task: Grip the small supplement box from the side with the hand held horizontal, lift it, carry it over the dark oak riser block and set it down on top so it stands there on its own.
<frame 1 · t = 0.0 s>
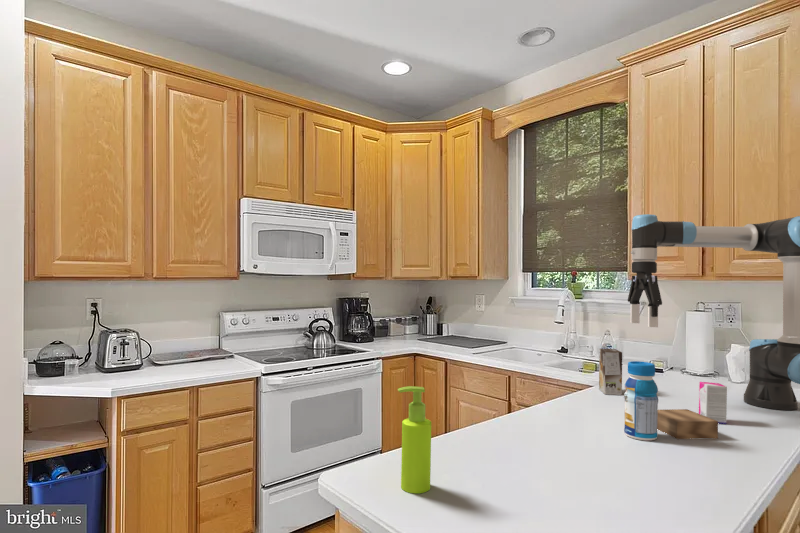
hand: (643, 325, 161), 28 cm above the counter, tool pointing down, fingers open, 13 cm apart
soap dispenser: (412, 488, 97), on the counter
beverage bottle: (640, 437, 132), on the counter
coffee box: (610, 392, 185), on the counter
supplement box: (712, 421, 148), on the counter
oak riser block: (682, 432, 137), on the counter
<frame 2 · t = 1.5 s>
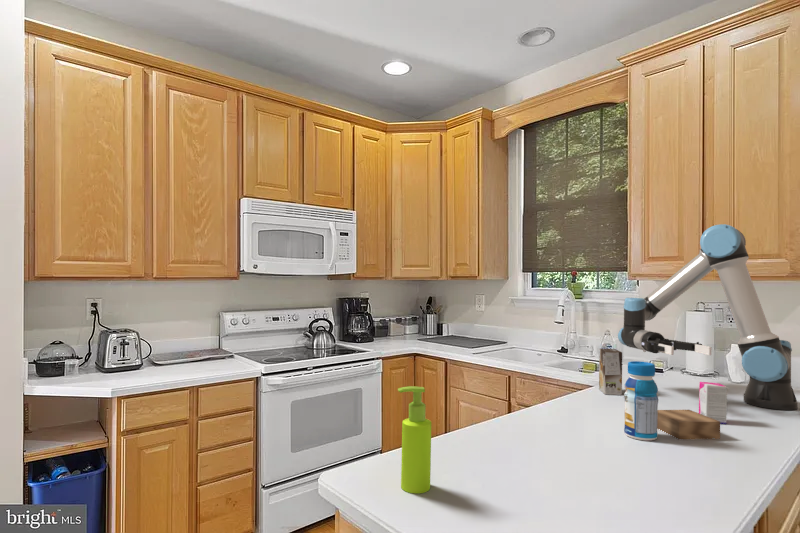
hand: (691, 351, 158), 20 cm above the counter, tool horizontal, fingers open, 13 cm apart
nothing on the counter moved.
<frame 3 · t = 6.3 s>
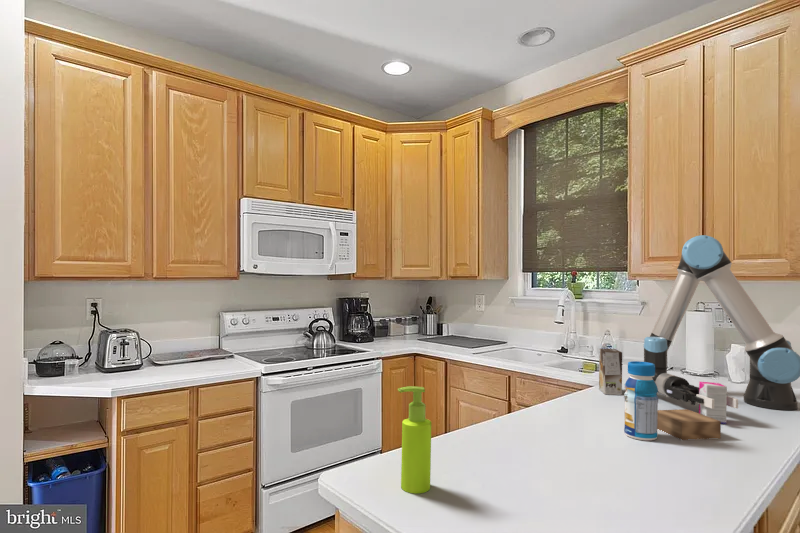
hand: (725, 403, 144), 7 cm above the counter, tool horizontal, fingers closed on supplement box, 7 cm apart
supplement box: (712, 421, 148), on the counter, touching gripper
everything else where it was.
when the fingers open (13 cm above the counter, at t = 11.2 s): supplement box drops 2 cm, resting on oak riser block.
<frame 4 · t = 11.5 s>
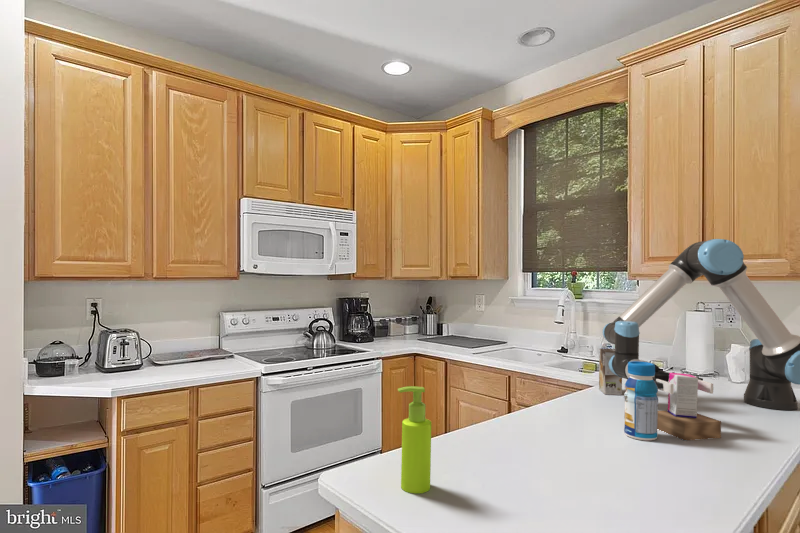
hand: (692, 388, 134), 13 cm above the counter, tool horizontal, fingers open, 11 cm apart
supplement box: (682, 415, 138), point 4 cm above the counter, touching oak riser block
oak riser block: (685, 433, 137), on the counter, touching supplement box
everything else where it was.
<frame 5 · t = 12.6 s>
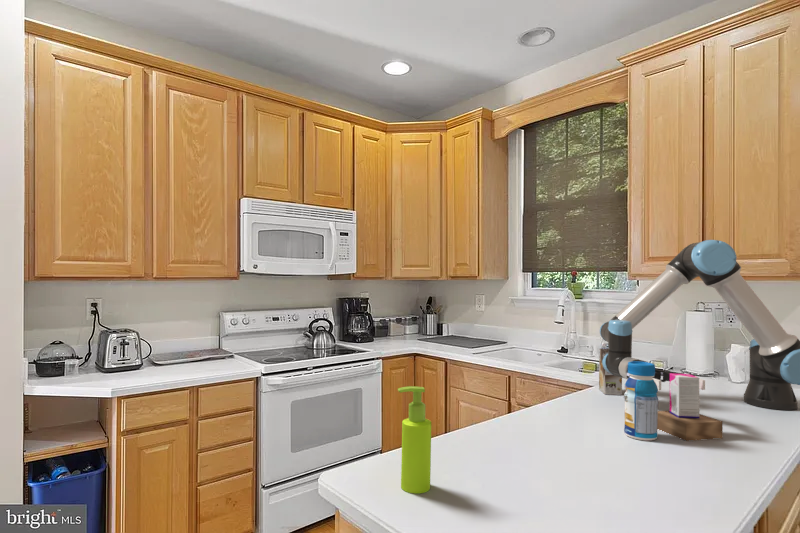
hand: (682, 385, 138), 13 cm above the counter, tool horizontal, fingers open, 13 cm apart
nothing on the counter moved.
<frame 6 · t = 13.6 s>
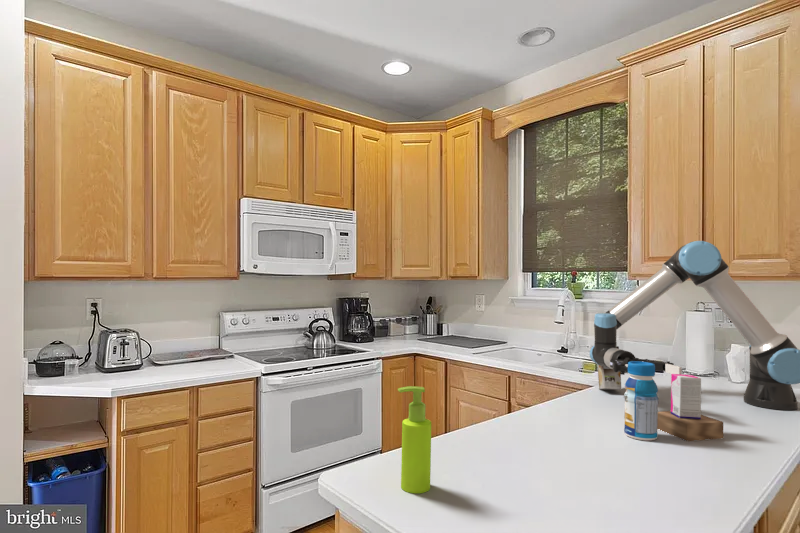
hand: (659, 372, 147), 15 cm above the counter, tool horizontal, fingers open, 13 cm apart
coffee box: (609, 389, 185), point 1 cm above the counter
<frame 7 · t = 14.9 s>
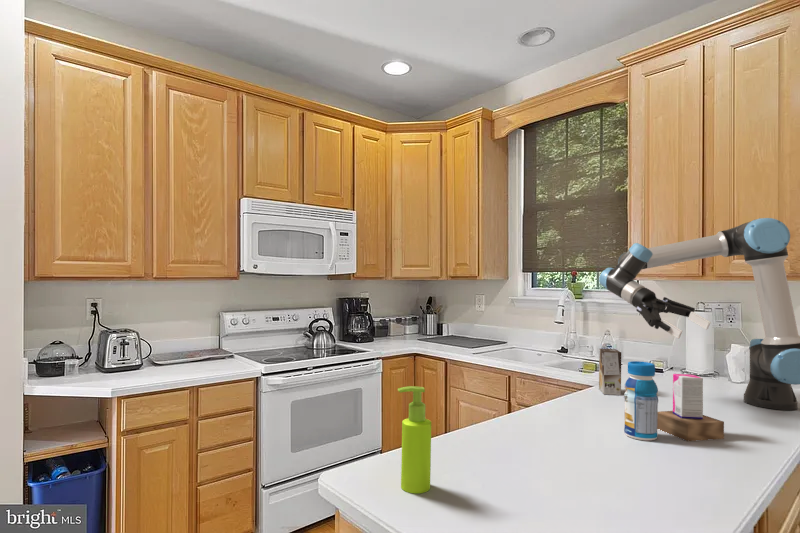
hand: (694, 330, 151), 28 cm above the counter, tool tilted 65°, fingers open, 13 cm apart
coffee box: (609, 392, 185), on the counter
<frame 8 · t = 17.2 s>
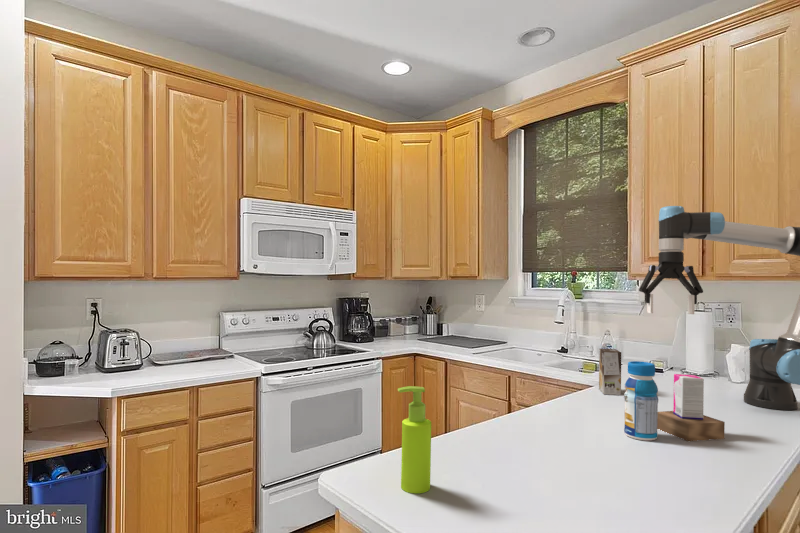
hand: (670, 313, 165), 32 cm above the counter, tool pointing down, fingers open, 13 cm apart
supplement box: (688, 417, 136), point 4 cm above the counter
oak riser block: (688, 434, 136), on the counter
everything else where it was.
at the end: supplement box inside the target area on the oak riser block (0.1 cm from its centre), point 4.8 cm above the oak riser block's base; supplement box tilted 1°; the gripper is holding nothing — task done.
